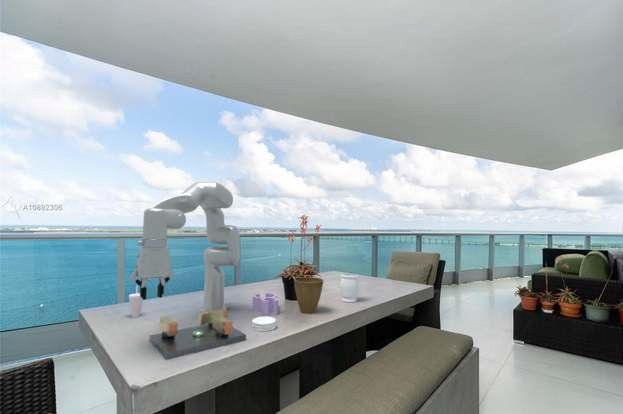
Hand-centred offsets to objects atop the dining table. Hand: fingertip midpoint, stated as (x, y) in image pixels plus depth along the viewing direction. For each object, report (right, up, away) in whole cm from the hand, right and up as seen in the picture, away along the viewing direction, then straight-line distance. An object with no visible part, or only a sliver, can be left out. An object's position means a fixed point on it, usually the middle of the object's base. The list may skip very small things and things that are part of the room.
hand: (151, 297), depth 107 cm
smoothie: (-26, -19, +36) cm, 49 cm away
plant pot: (+53, -22, +50) cm, 76 cm away
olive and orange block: (+3, -16, +6) cm, 17 cm away
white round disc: (+35, -20, +24) cm, 47 cm away
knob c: (+21, -16, +9) cm, 28 cm away
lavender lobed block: (+32, -22, +51) cm, 64 cm away
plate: (+13, -18, +8) cm, 24 cm away
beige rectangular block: (+15, -17, +19) cm, 29 cm away
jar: (+77, -24, +75) cm, 110 cm away
